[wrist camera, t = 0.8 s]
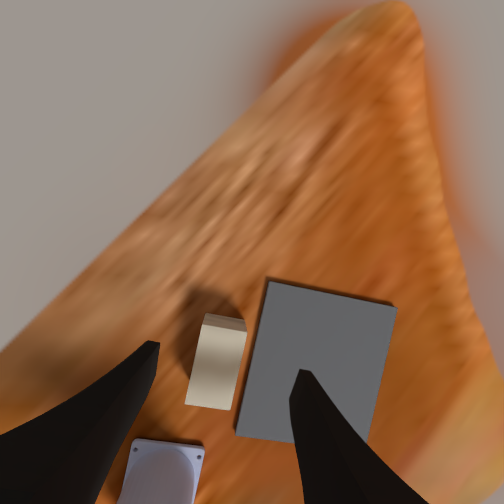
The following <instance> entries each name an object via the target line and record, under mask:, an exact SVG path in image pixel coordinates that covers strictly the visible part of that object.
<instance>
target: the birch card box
mask: <svg viewBox="0 0 504 504" xmlns="http://www.w3.org/2000/svg"><path fill="white" fill-rule="evenodd" d="M246 336H247V328H246V324H245V320H242V319H237V318H231V317H226V316H221V315H215V314H210V313H205V317H204V320H203V323H202V327H201V332H200V337H199V341H198V346H197V350H196V355H195V359H194V364H193V368H192V373H191V378H190V382H189V387H188V391H187V396H186V400H185V404H188V405H195V406H202V407H209V408H216V409H223V410H230V408H231V404H232V399H233V395H234V390H235V386H236V381H237V377H238V372H239V368H240V363H241V359H242V354H243V350H244V345H245V341H246Z"/></svg>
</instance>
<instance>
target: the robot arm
mask: <svg viewBox="0 0 504 504" xmlns="http://www.w3.org/2000/svg"><path fill="white" fill-rule="evenodd" d="M159 349H160V343H159V342H154V341H149V340H148V341H146V342H145V343H144V344H143V345H141V346H140V347H139V348H138V349H137V350H136V351H135V352H133V353H132V354H131V355H130V356H129V357H127V358H126V359H125V360H124V361H122V362H121V363H120V364H119V365H117V366H116V367H115V368H114V369H112V370H111V371H110V372H108V373H107V374H106V375H104V376H103V377H101V378H100V379H99V380H97V381H96V382H94V383H93V384H92V385H90V386H89V387H87V388H86V389H84V390H83V391H81V392H79V393H78V394H76V395H75V396H73V397H71V398H70V399H68V400H67V401H65V402H63V403H61V404H60V405H58V406H56V407H54V408H53V409H51V410H49V411H47V412H46V413H44V414H42V415H40V416H38V417H36V418H34V419H32V420H30V421H28V422H26V423H24V424H22V425H20V426H18V427H16V428H14V429H12V430H10V431H8V432H6V433H4V434H2V435H0V504H95V502H96V499H97V497H98V495H99V492H100V490H101V488H102V485H103V483H104V481H105V478H106V476H107V474H108V472H109V469H110V467H111V465H112V463H113V460H114V458H115V456H116V454H117V452H118V450H119V448H120V446H121V444H122V442H123V441H124V439H125V437H126V435H127V433H128V431H129V429H130V427H131V426H132V424H133V422H134V420H135V418H136V416H137V414H138V413H139V411H140V409H141V407H142V405H143V403H144V401H145V399H146V397H147V395H148V393H149V390H150V388H151V385H152V383H153V380H154V378H155V376H156V369H157V362H158V355H159ZM289 410H290V421H291V427H292V432H293V437H294V443H295V448H296V453H297V458H298V463H299V468H300V474H301V480H302V486H303V494H304V503H305V504H429V503H428V502H427V501H425V500H424V499H423V498H422V497H421V496H420V495H419V494H417V493H416V492H415V491H414V490H413V489H412V488H411V487H409V486H408V485H407V484H406V483H405V482H404V481H403V480H402V479H401V478H400V477H399V476H398V475H397V474H395V473H394V472H393V471H392V470H391V469H390V468H389V467H388V466H387V465H386V464H385V463H384V462H383V461H382V460H381V459H380V458H379V457H378V456H377V455H376V453H375V452H374V451H373V450H372V449H371V448H370V447H369V446H368V445H367V444H366V443H365V441H364V440H363V439H362V438H361V437H360V436H359V435H358V433H357V432H356V431H355V430H354V429H353V427H352V426H351V425H350V424H349V422H348V421H347V420H346V419H345V418H344V416H343V415H342V414H341V412H340V411H339V410H338V408H337V407H336V406H335V404H334V403H333V402H332V400H331V399H330V397H329V396H328V395H327V393H326V392H325V390H324V389H323V387H322V386H321V385H320V383H319V382H318V380H317V379H316V377H315V376H314V374H313V373H312V372H311V371H309V370H304V369H299V372H298V374H297V377H296V380H295V383H294V386H293V388H292V391H291V394H290V397H289ZM135 448H137V449H135ZM204 453H205V449H204V447H202V446H196V445H188V444H180V443H171V442H163V441H155V440H147V439H139V438H138V439H135V440H134V441H133V443H132V445H131V450H130V454H129V459H128V464H127V468H126V473H125V477H124V482H123V487H122V491H121V494H120V496H119V499H118V501H117V503H116V504H193V503H194V498H195V494H196V489H197V485H198V480H199V476H200V471H201V467H202V462H203V458H204ZM198 455H201V456H198Z"/></svg>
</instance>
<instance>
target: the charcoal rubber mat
mask: <svg viewBox="0 0 504 504" xmlns="http://www.w3.org/2000/svg"><path fill="white" fill-rule="evenodd" d="M397 309H398V308H397V307H394V306H389V305H384V304H379V303H374V302H369V301H365V300H360V299H355V298H350V297H345V296H341V295H336V294H331V293H326V292H321V291H316V290H312V289H307V288H302V287H297V286H292V285H287V284H283V283H278V282H273V281H269V282H268V286H267V291H266V295H265V300H264V304H263V309H262V313H261V317H260V322H259V326H258V331H257V335H256V340H255V344H254V349H253V353H252V358H251V362H250V367H249V371H248V376H247V380H246V385H245V389H244V394H243V398H242V403H241V407H240V412H239V416H238V421H237V425H236V430H235V436H243V437H250V438H258V439H266V440H273V441H281V442H289V443H294V437H293V432H292V427H291V421H290V410H289V397H290V394H291V391H292V388H293V386H294V383H295V380H296V377H297V374H298V372H299V369H304V370H309V371H311V372H312V373H313V374H314V376H315V377H316V379H317V380H318V382H319V383H320V385H321V386H322V387H323V389H324V390H325V392H326V393H327V395H328V396H329V397H330V399H331V400H332V402H333V403H334V404H335V406H336V407H337V408H338V410H339V411H340V412H341V414H342V415H343V416H344V418H345V419H346V420H347V421H348V422H349V424H350V425H351V426H352V427H353V429H354V430H355V431H356V432H357V433H358V435H359V436H360V437H361V438H362V439H363V440H364V441H365V443H367V438H368V434H369V430H370V426H371V421H372V417H373V413H374V408H375V404H376V400H377V395H378V391H379V387H380V382H381V378H382V374H383V369H384V365H385V361H386V356H387V352H388V348H389V343H390V339H391V335H392V331H393V326H394V322H395V318H396V313H397Z"/></svg>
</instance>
